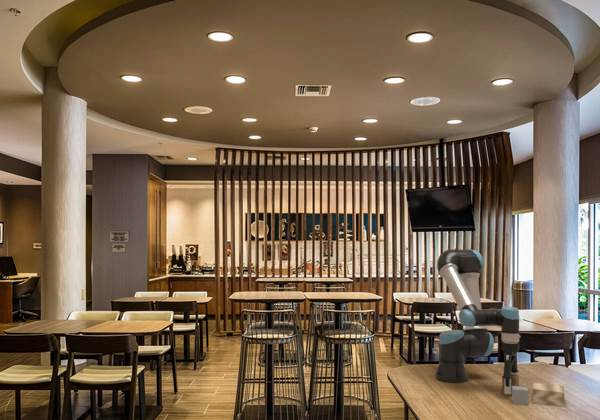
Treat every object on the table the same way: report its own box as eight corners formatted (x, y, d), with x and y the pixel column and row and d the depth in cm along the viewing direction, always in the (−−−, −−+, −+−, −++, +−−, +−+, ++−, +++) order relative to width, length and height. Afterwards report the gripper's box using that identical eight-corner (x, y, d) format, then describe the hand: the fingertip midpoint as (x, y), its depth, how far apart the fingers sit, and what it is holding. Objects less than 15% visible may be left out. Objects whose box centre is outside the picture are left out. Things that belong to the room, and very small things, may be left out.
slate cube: (513, 403, 238) (513, 389, 238) (511, 400, 244) (511, 385, 244) (528, 405, 236) (528, 390, 237) (526, 401, 242) (526, 387, 242)
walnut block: (502, 394, 252) (502, 376, 253) (504, 391, 258) (504, 373, 258) (516, 396, 249) (516, 378, 250) (518, 393, 255) (518, 375, 255)
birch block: (533, 403, 240) (533, 389, 240) (533, 396, 251) (533, 382, 251) (564, 407, 235) (564, 392, 235) (563, 400, 246) (563, 385, 246)
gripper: (514, 347, 242) (514, 398, 241) (523, 339, 263) (524, 385, 262) (495, 345, 246) (496, 395, 245) (506, 337, 267) (507, 383, 266)
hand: (510, 390), depth 253 cm, fingers open, 13 cm apart
